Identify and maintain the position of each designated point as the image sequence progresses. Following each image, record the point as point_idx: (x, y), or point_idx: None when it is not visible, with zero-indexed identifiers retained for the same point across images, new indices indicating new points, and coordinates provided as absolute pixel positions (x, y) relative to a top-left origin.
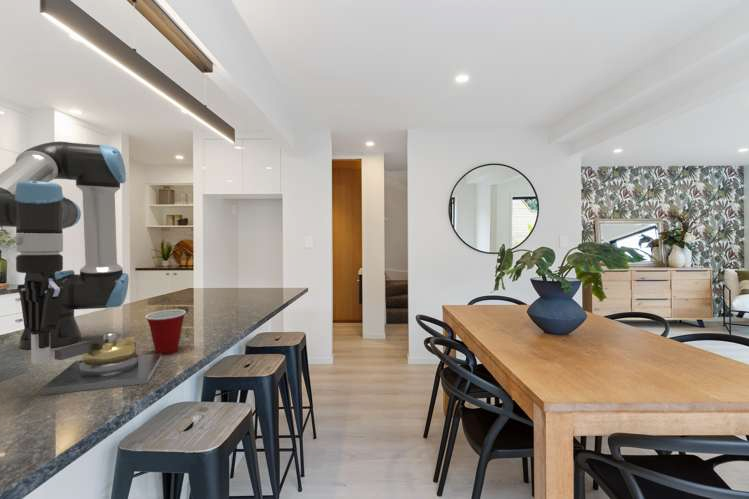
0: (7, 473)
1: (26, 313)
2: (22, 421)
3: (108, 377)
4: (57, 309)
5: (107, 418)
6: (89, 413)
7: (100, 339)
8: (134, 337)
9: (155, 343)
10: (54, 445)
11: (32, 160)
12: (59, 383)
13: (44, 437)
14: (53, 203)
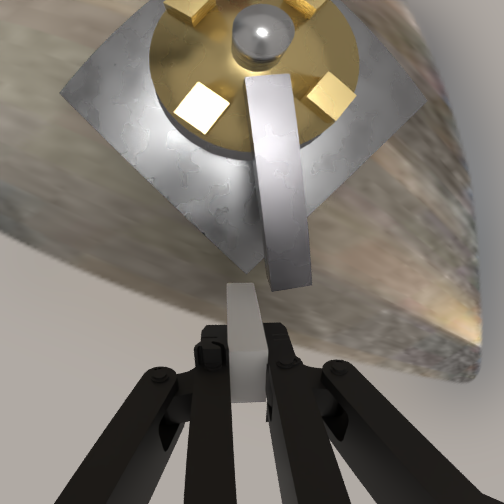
0: (462, 382)
1: (158, 475)
2: (360, 342)
3: (337, 137)
4: (422, 446)
5: (475, 267)
6: (440, 270)
7: (260, 79)
8: None
9: None
10: (465, 341)
11: None
12: (251, 231)
13: (440, 342)
14: None
